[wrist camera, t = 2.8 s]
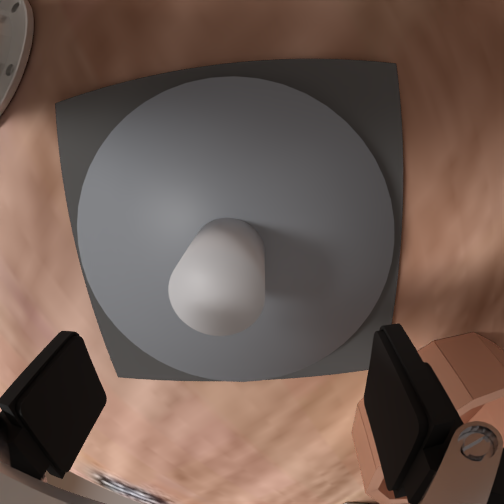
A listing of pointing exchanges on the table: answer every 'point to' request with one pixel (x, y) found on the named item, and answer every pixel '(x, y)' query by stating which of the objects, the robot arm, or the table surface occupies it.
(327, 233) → the lid
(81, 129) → the mat
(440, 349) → the bowl
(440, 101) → the table surface
